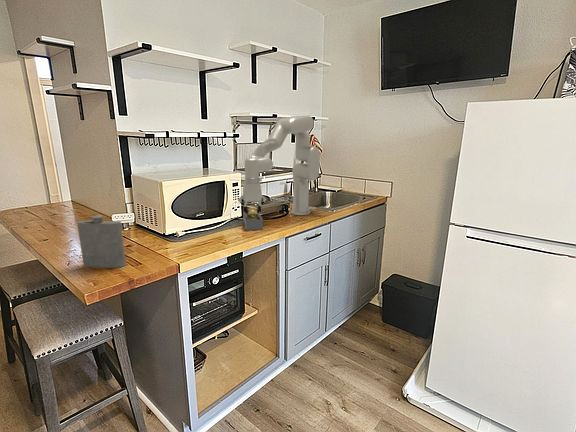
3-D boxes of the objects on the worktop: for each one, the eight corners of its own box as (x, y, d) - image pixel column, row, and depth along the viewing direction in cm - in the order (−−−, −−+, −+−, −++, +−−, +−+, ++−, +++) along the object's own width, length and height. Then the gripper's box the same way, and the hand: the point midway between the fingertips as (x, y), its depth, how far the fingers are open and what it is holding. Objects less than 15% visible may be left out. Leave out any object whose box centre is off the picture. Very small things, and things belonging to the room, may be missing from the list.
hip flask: (127, 264, 129) (121, 214, 124) (122, 268, 125) (116, 217, 120) (87, 263, 129) (79, 214, 124) (80, 267, 125) (72, 216, 120)
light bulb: (257, 222, 188) (257, 207, 186) (258, 225, 182) (258, 210, 180) (246, 222, 187) (246, 208, 185) (247, 225, 181) (247, 210, 179)
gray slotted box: (258, 219, 195) (258, 210, 194) (263, 229, 176) (262, 219, 175) (243, 220, 193) (243, 211, 192) (246, 230, 174) (245, 220, 173)
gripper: (267, 179, 184) (267, 211, 188) (235, 180, 180) (236, 212, 185) (269, 181, 177) (269, 214, 181) (236, 182, 173) (237, 215, 178)
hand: (252, 212), depth 183 cm, fingers open, 6 cm apart
